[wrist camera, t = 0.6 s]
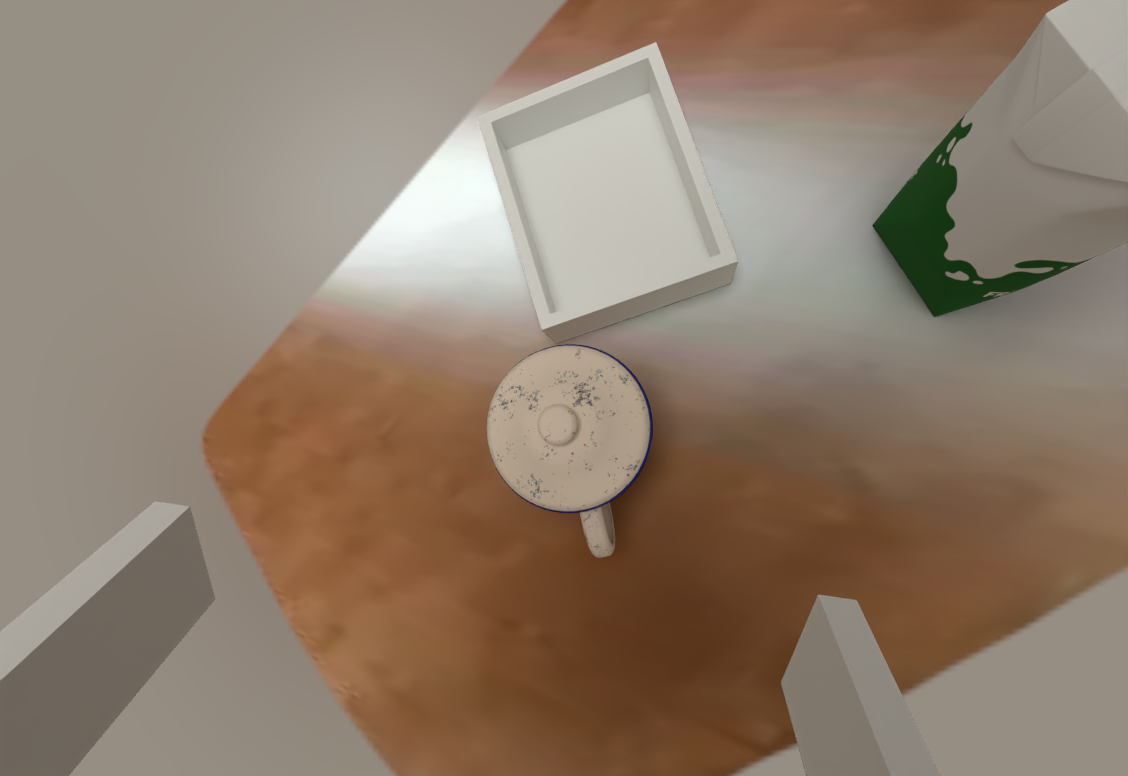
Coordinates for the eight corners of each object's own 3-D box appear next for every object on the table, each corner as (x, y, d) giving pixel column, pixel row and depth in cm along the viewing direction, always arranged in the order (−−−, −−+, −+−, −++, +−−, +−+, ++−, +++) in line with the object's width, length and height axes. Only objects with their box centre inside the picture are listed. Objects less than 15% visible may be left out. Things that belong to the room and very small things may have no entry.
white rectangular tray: (657, 87, 40) (656, 42, 36) (730, 283, 38) (738, 261, 33) (496, 151, 42) (476, 116, 38) (555, 343, 39) (541, 329, 35)
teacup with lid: (514, 384, 40) (451, 357, 28) (638, 353, 38) (625, 311, 27) (549, 554, 38) (497, 598, 26) (681, 528, 36) (686, 562, 25)
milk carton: (928, 336, 35) (1258, 188, 15) (850, 219, 37) (1057, -48, 17) (1064, 267, 34) (1599, 15, 14) (977, 150, 36) (1350, -217, 16)
